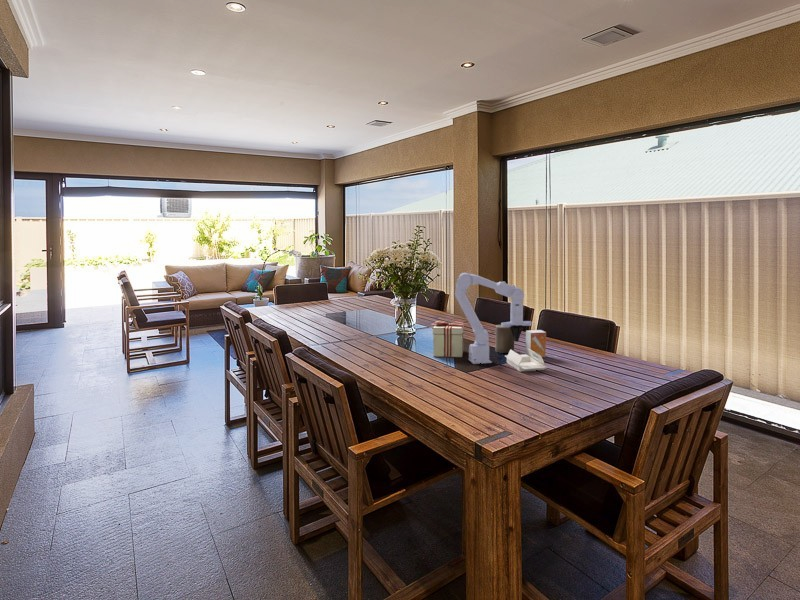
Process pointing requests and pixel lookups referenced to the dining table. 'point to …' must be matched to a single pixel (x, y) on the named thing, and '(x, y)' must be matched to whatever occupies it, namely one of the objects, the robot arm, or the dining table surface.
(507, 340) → the pillar candle
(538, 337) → the small box
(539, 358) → the flap
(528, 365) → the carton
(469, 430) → the dining table surface
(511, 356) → the flap
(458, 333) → the gift box
